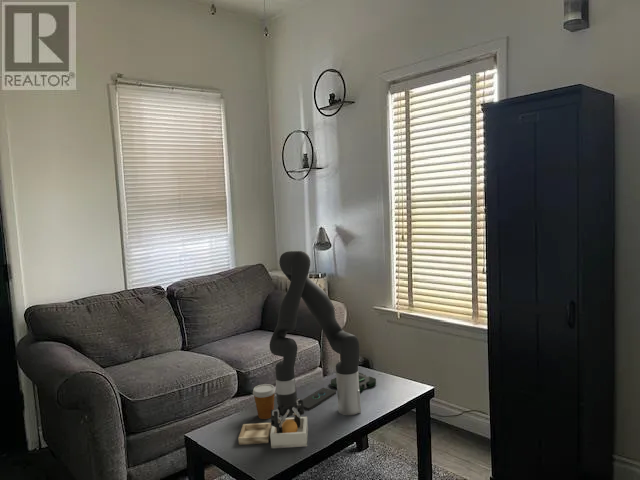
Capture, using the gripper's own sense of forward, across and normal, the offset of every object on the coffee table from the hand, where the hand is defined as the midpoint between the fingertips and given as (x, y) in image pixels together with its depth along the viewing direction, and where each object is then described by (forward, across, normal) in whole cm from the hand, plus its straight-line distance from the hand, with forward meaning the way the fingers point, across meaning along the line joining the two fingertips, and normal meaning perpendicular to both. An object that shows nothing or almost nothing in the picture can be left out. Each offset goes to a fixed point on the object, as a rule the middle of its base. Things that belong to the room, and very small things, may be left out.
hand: (288, 431), depth 182 cm
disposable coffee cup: (+3, -6, -22) cm, 23 cm away
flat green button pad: (+3, -52, -14) cm, 54 cm away
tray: (+3, +7, -11) cm, 14 cm away
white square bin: (+3, 0, 0) cm, 3 cm away
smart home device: (+3, -30, -16) cm, 35 cm away
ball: (-1, 0, 0) cm, 1 cm away
